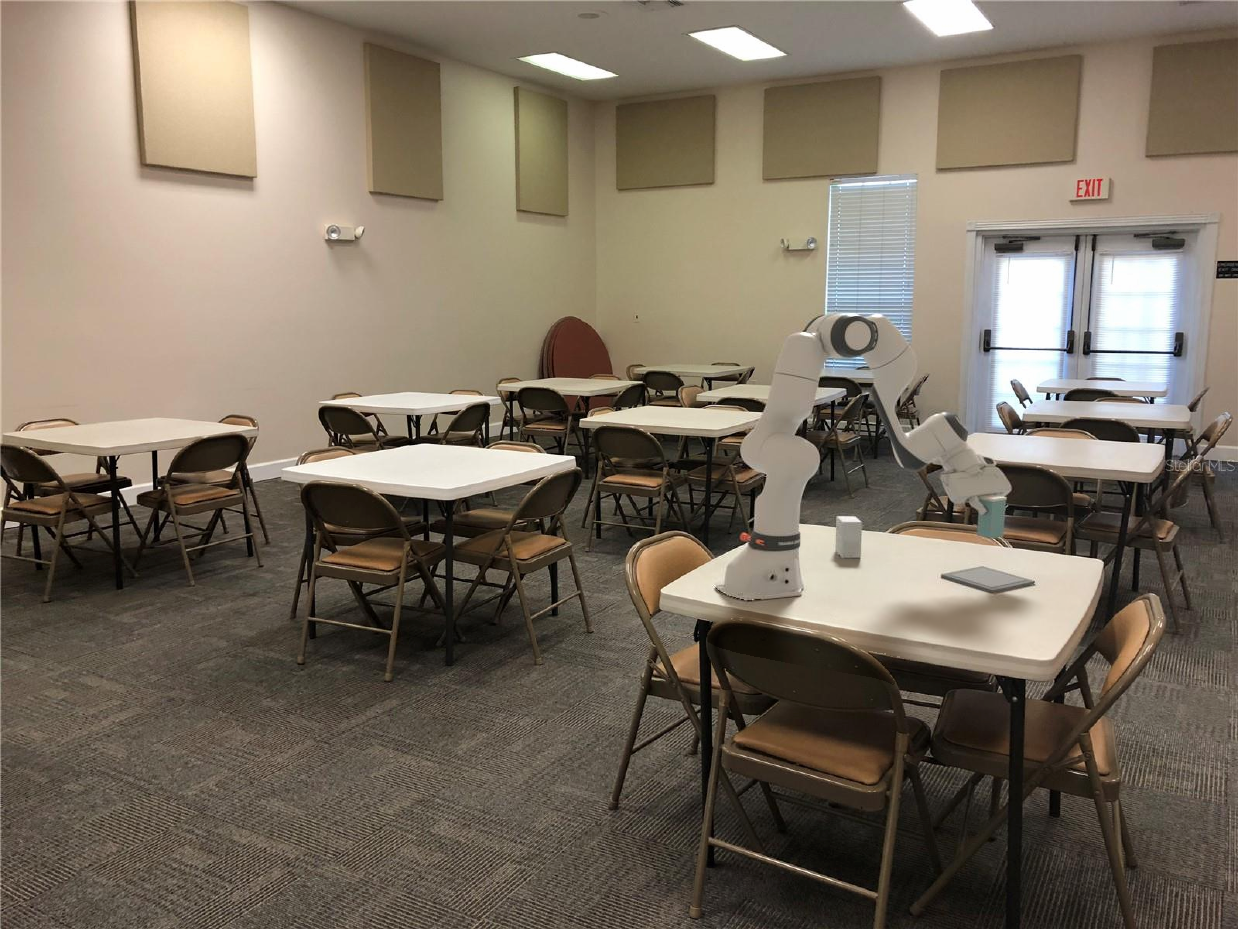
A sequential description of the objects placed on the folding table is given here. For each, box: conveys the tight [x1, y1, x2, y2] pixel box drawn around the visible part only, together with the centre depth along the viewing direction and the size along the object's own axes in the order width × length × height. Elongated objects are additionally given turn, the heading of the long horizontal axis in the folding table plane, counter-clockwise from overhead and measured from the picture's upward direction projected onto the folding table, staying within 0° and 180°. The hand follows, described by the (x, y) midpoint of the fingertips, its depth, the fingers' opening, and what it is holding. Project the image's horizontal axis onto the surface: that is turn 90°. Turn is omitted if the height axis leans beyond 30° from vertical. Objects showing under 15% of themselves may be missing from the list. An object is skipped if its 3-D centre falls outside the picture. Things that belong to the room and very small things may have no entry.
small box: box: [834, 515, 863, 559], centre depth 256 cm, size 8×6×10 cm
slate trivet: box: [940, 566, 1036, 594], centre depth 231 cm, size 16×16×1 cm
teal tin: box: [976, 495, 1008, 540], centre depth 229 cm, size 5×4×10 cm
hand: (994, 512), depth 228 cm, fingers closed on teal tin, 5 cm apart
